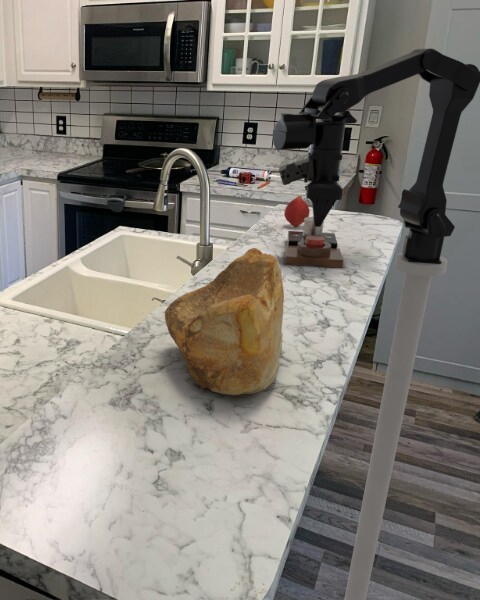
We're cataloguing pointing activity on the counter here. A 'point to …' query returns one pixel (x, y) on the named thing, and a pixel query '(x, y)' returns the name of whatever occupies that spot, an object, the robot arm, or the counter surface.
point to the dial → (311, 228)
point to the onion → (296, 211)
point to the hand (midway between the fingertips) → (316, 224)
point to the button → (314, 241)
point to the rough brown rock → (232, 326)
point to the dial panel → (298, 236)
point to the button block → (313, 255)
